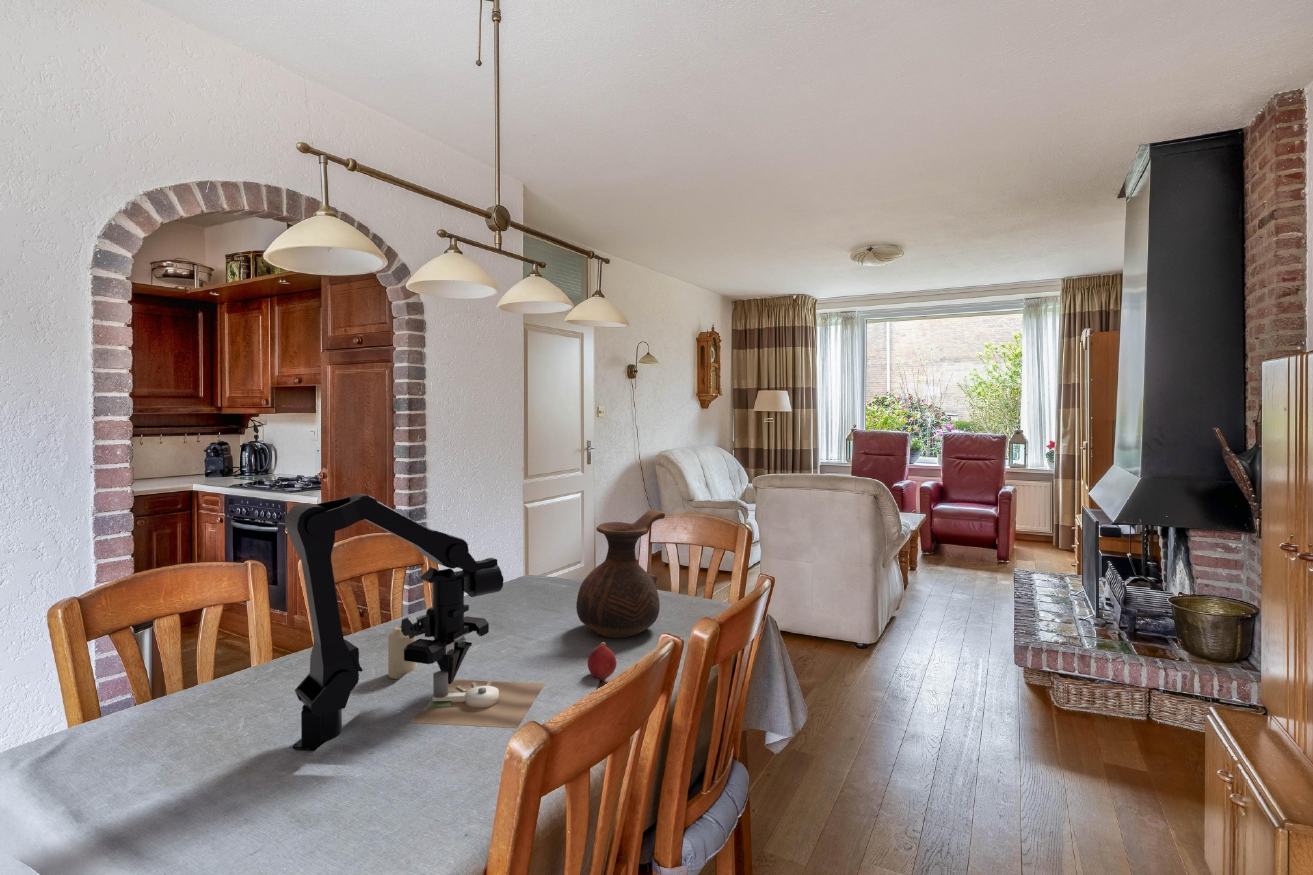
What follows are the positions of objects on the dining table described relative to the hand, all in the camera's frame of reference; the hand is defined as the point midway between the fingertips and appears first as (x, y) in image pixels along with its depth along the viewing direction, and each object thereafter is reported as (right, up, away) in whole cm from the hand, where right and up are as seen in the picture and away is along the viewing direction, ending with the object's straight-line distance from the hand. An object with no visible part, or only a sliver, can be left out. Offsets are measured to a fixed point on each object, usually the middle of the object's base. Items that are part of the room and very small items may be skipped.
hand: (448, 683), depth 126 cm
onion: (+28, -4, +11) cm, 30 cm away
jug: (+30, -3, +44) cm, 53 cm away
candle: (-14, -3, +13) cm, 19 cm away
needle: (+4, -2, -3) cm, 5 cm away
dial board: (+7, -4, -2) cm, 8 cm away
